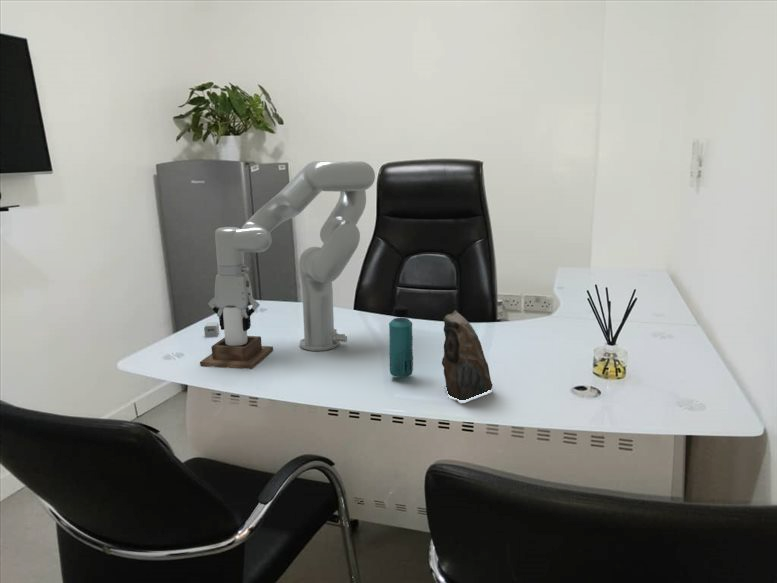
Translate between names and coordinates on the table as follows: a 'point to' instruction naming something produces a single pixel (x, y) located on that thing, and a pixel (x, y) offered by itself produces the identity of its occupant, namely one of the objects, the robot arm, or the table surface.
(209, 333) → the usb wall charger
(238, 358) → the holder
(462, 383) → the owl
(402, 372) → the beverage bottle
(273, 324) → the table surface
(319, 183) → the robot arm
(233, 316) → the can
